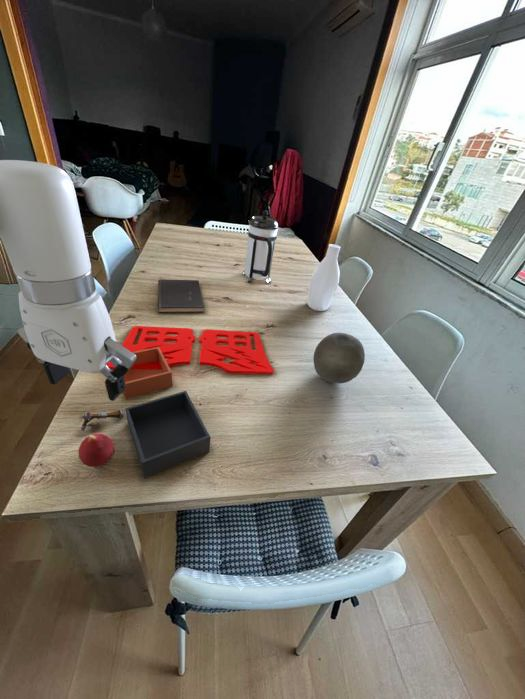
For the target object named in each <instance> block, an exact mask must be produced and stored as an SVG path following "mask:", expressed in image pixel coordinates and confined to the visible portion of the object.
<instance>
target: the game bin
mask: <svg viewBox="0 0 525 699" xmlns="http://www.w3.org/2000/svg"><path fill="white" fill-rule="evenodd" d="M124 411H125V415H126V420H127V425H128V428H129V431H130V434H131V438H132V442H133V445H134V448H135V452H136V455H137V459H138V461H139V465H140V468H141V471H142V472H141V473H142V475H143V478H144V479H147V478H148V477H151V476H154V475H156V474H158V473H161V472H163V471H166V470H168V469H170V468H171V469H172V468H173V467H176V466H178V465H180V464H183V463H185V462H189V461H190V460H192V459H195V458H197V457H199V456H202V455H205V454H207V453H209V452H210V450H211V435H210V434H209V432H208V430H207V427H206V426H205V424H204V422H203V420H202V419H201V416H200V414H199V412H198V410H197V409H196V406H195V405H194V403H193V401H192V399H191V397H190V395H189V394H188V391H187V390H183V391H180V392H176V393H172V394H169V395H165V396H163V397H159V398H156V399H152V400H149V401H145V402H141V403H138V404H135V405H131V406H128V407H125V408H124Z"/></svg>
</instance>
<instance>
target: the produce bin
mask: <svg viewBox="0 0 525 699" xmlns="http://www.w3.org/2000/svg"><path fill="white" fill-rule="evenodd" d="M132 353H134V354H135V355H136V356H137V359H136V361H135V362H134V364H133V366H135V365H141V364H147V363H152V362H158V361H159V363H160V365H161V367H162V368H161V369H159V370H146V369H130V370H129V371H128V372H127V373H126V374H125V375H124V380H125V386H126V387H125V390H124V392H123V396H124V398H125V400H130V399H133V398H136V397H137V398H138V397H141V396H143V395H147V394H153V393H154V392H155V393H156V392H158V391H162V390H165V389H166V390H167V389H170V388H173V386H174V385H173V371H172V370H171V368H170V367H169V366H168V364H167V362H166V360H167V359H165V358H164V355H163V354H162V352H161V350H160V348H159V347H156V348H151V349H146V350H141V351H136V352H132ZM120 361H121V360H120Z"/></svg>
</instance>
